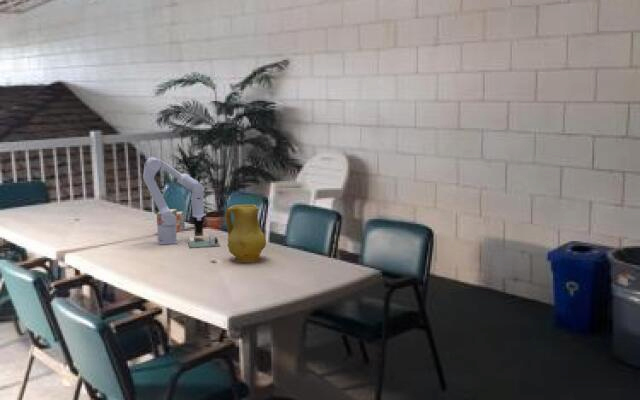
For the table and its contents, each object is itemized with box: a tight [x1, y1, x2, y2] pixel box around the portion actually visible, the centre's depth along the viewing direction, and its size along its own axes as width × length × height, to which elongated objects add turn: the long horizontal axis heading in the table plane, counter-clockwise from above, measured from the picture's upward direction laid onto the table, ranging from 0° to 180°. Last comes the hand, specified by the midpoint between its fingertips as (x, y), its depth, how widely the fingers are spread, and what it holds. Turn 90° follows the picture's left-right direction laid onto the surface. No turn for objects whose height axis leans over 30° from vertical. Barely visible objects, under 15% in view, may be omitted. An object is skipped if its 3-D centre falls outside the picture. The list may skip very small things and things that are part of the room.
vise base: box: [187, 235, 221, 249], centre depth 325 cm, size 15×12×4 cm
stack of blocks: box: [156, 208, 186, 233], centre depth 358 cm, size 21×6×12 cm, turn 168°
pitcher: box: [224, 204, 267, 264], centre depth 295 cm, size 17×19×25 cm
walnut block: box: [193, 224, 204, 237], centre depth 335 cm, size 4×5×5 cm
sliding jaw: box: [208, 234, 219, 245], centre depth 326 cm, size 4×10×3 cm, turn 15°
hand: (198, 231), depth 336 cm, fingers closed on walnut block, 5 cm apart
